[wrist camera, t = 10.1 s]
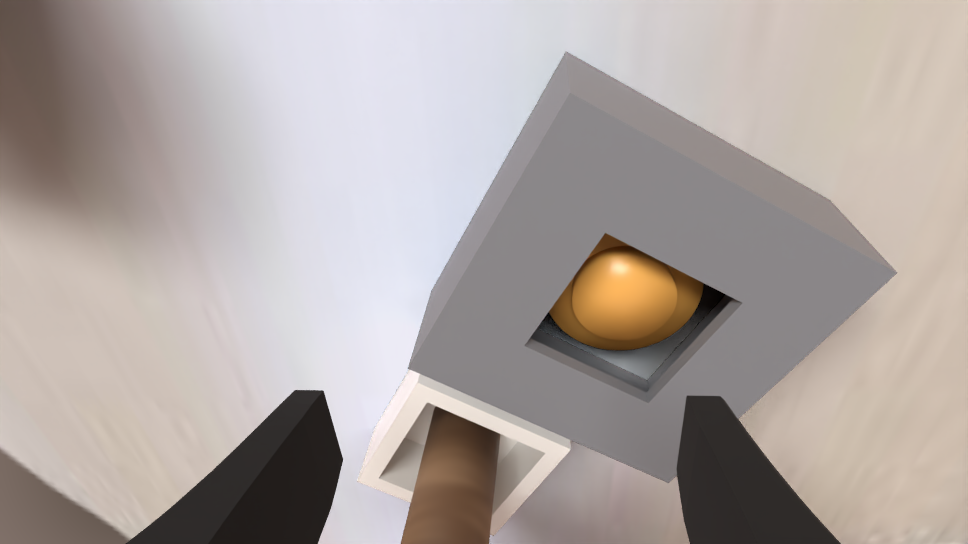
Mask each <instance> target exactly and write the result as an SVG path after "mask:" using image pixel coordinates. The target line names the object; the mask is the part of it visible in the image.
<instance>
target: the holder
mask: <svg viewBox="0 0 968 544" xmlns="http://www.w3.org/2000/svg"><path fill="white" fill-rule="evenodd" d="M436 406H437V407H439V408H442V409H444V410H446V411H449V412H451V413H453V414H456V415H458V416H460V417H463V418H465V419H467V420H470V421H472V422H474V423H476V424H479V425H481V426H483V427H486V428H488V429H490V430H493V431H495V432H497V433H500V434H501V435H500V444H499V453H498V463H497V472H496V481H495V491H494V500H493V509H492V519H491V528H490V535H493V536H494V535H495V534H496V533H497V532H498V531H499V529H500V528H501V527H502V526H503V525H504V524H505V523H506V522H507V520H508V519H509V518H510V517H511V516H512V515H513V514H514V513H515V512H516V510H517V509H518V508H519V507H520V506H521V505H522V504H523V503H524V501H525V500H526V499H527V498H528V497H529V496H530V495H531V494H532V493H533V491H534V490H535V489H536V488H537V487H538V486H539V485H540V484H541V482H542V481H543V480H544V479H545V478H546V477H547V476H548V475H549V474H550V472H551V471H552V470H553V469H554V468H555V467H556V466H557V465H558V463H559V462H560V461H561V460H562V459H563V458H564V457H565V456H566V454H567V453H568V452H569V451H570V450H571V440H569V439H567V438H565V437H562V436H560V435H558V434H556V433H553V432H551V431H549V430H546V429H544V428H542V427H540V426H537V425H535V424H533V423H531V422H528V421H526V420H524V419H521V418H519V417H517V416H515V415H512V414H510V413H508V412H505V411H503V410H501V409H499V408H496V407H494V406H492V405H490V404H487V403H485V402H483V401H480V400H478V399H476V398H474V397H471V396H469V395H467V394H465V393H462V392H460V391H458V390H455V389H453V388H451V387H449V386H446V385H444V384H442V383H439V382H437V381H435V380H433V379H430V378H428V377H426V376H424V375H421V374H419V373H417V372H414V371H412V370H410V369H409V370H408V372H407V374H406V376H405V377H404V379H403V381H402V382H401V384H400V386H399V387H398V389H397V391H396V392H395V394H394V396H393V398H392V399H391V401H390V403H389V404H388V406H387V408H386V409H385V411H384V413H383V415H382V416H381V418H380V420H379V421H378V423H377V425H376V426H375V429H374V432H373V435H372V438H371V441H370V444H369V447H368V450H367V453H366V456H365V459H364V462H363V465H362V468H361V471H360V474H359V477H358V480H357V482H360V483H362V484H365V485H367V486H370V487H372V488H375V489H377V490H380V491H382V492H385V493H387V494H390V495H392V496H395V497H397V498H400V499H402V500H405V501H407V502H410V503H411V500H412V496H413V492H414V488H415V484H416V480H417V476H418V472H419V468H420V464H421V460H422V455H423V451H424V447H425V443H426V439H427V435H428V431H429V427H430V423H431V419H432V415H433V411H434V408H435V407H436Z"/></svg>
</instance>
